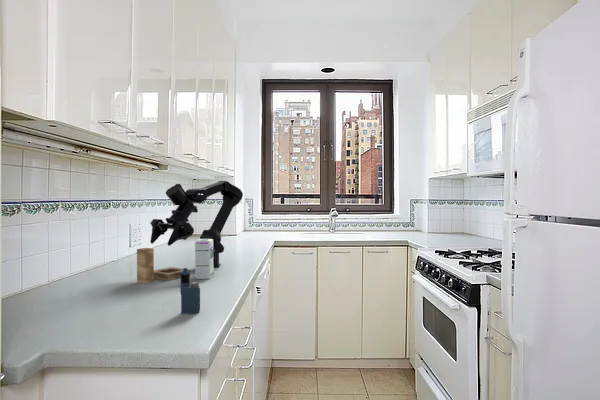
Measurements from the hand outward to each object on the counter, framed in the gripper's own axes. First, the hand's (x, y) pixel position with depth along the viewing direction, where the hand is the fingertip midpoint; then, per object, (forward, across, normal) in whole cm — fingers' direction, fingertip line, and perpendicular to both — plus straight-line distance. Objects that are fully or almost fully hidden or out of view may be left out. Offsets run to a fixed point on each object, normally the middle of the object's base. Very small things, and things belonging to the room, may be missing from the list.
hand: (159, 244), depth 149 cm
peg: (+14, 0, -5) cm, 15 cm away
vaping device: (+27, -40, +8) cm, 49 cm away
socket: (+6, 0, -13) cm, 14 cm away
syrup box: (+2, -13, -16) cm, 21 cm away
